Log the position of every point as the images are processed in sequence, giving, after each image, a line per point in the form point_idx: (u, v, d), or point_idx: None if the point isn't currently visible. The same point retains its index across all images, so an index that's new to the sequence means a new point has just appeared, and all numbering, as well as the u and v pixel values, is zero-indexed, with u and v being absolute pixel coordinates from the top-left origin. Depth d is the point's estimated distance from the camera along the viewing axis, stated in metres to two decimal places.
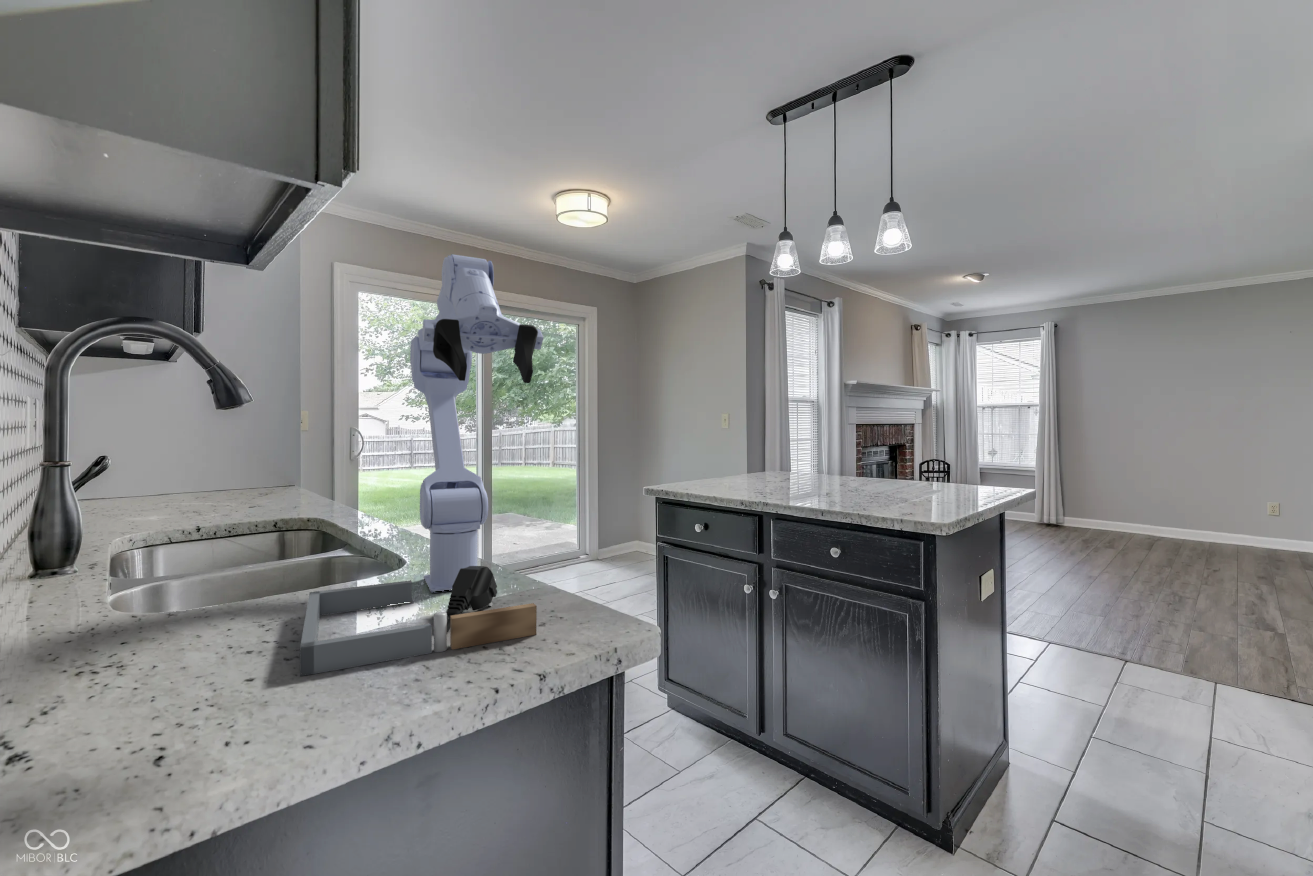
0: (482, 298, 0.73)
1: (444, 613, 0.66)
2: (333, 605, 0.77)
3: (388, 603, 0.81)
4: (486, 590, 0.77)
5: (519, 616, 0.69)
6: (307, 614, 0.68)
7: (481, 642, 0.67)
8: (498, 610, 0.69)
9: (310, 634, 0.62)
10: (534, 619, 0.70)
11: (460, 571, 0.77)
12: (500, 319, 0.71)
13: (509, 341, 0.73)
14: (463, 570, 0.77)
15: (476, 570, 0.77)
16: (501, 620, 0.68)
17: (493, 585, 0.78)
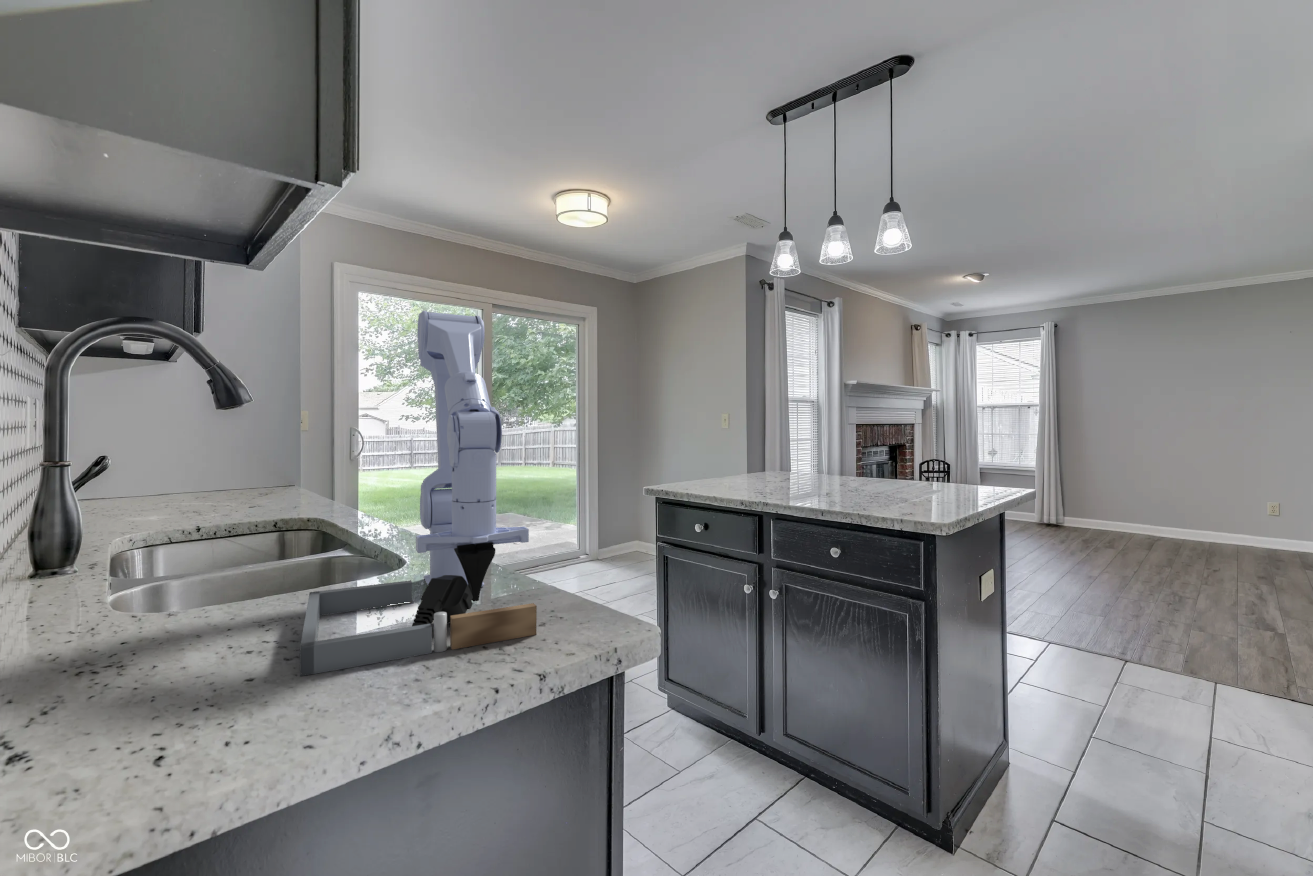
0: (478, 512, 0.74)
1: (444, 613, 0.66)
2: (333, 605, 0.77)
3: (388, 603, 0.81)
4: (458, 602, 0.72)
5: (519, 616, 0.69)
6: (307, 614, 0.68)
7: (481, 642, 0.67)
8: (498, 610, 0.69)
9: (310, 634, 0.62)
10: (534, 619, 0.70)
11: (431, 581, 0.72)
12: (490, 540, 0.76)
13: (496, 543, 0.79)
14: (434, 580, 0.72)
15: (448, 580, 0.71)
16: (501, 620, 0.68)
17: (467, 596, 0.73)
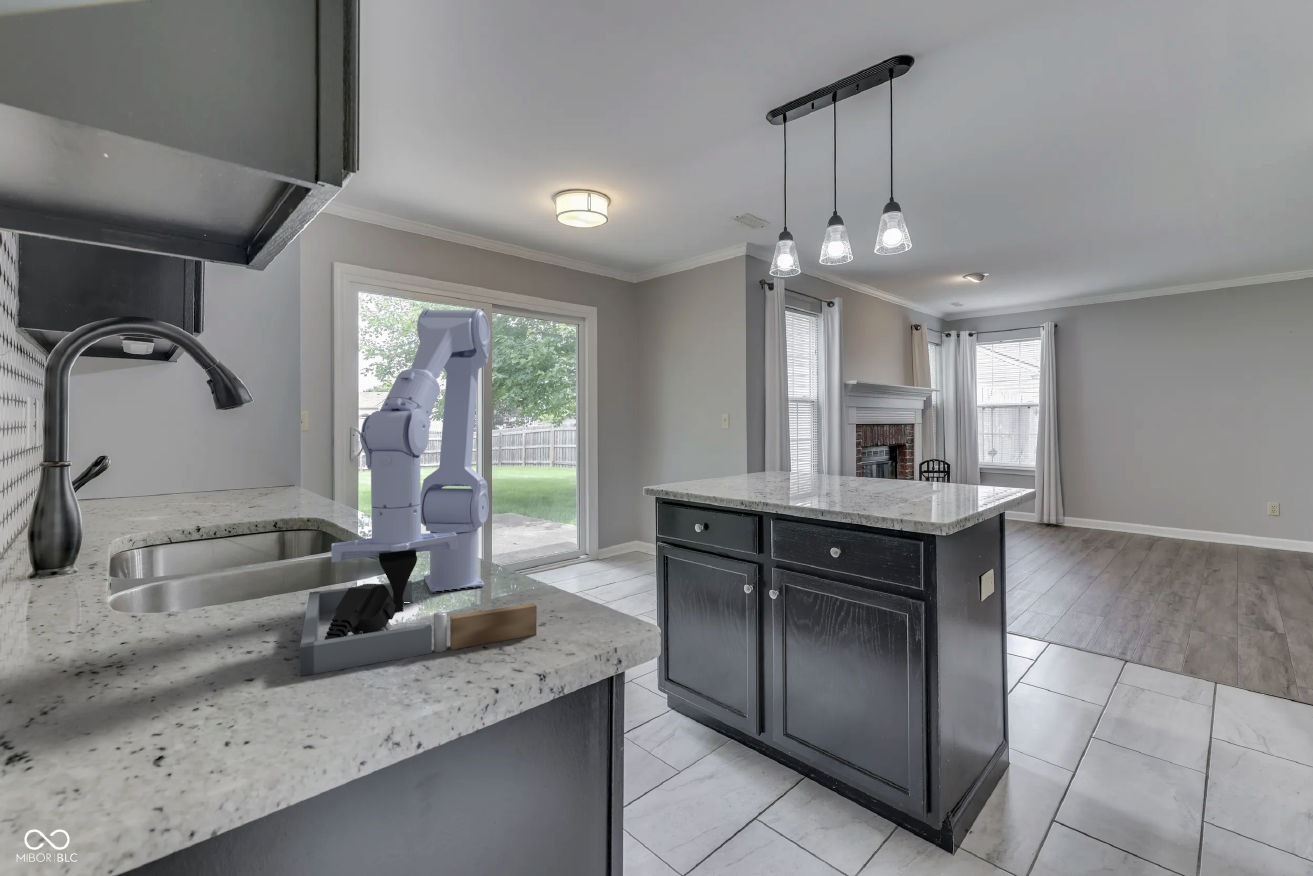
0: (397, 519, 0.70)
1: (444, 613, 0.66)
2: (333, 605, 0.77)
3: None
4: (378, 612, 0.67)
5: (519, 616, 0.69)
6: (307, 614, 0.68)
7: (481, 642, 0.67)
8: (498, 610, 0.69)
9: (310, 634, 0.62)
10: (534, 619, 0.70)
11: (348, 591, 0.67)
12: (412, 547, 0.71)
13: None
14: (352, 589, 0.67)
15: (366, 589, 0.67)
16: (501, 620, 0.68)
17: (388, 606, 0.69)
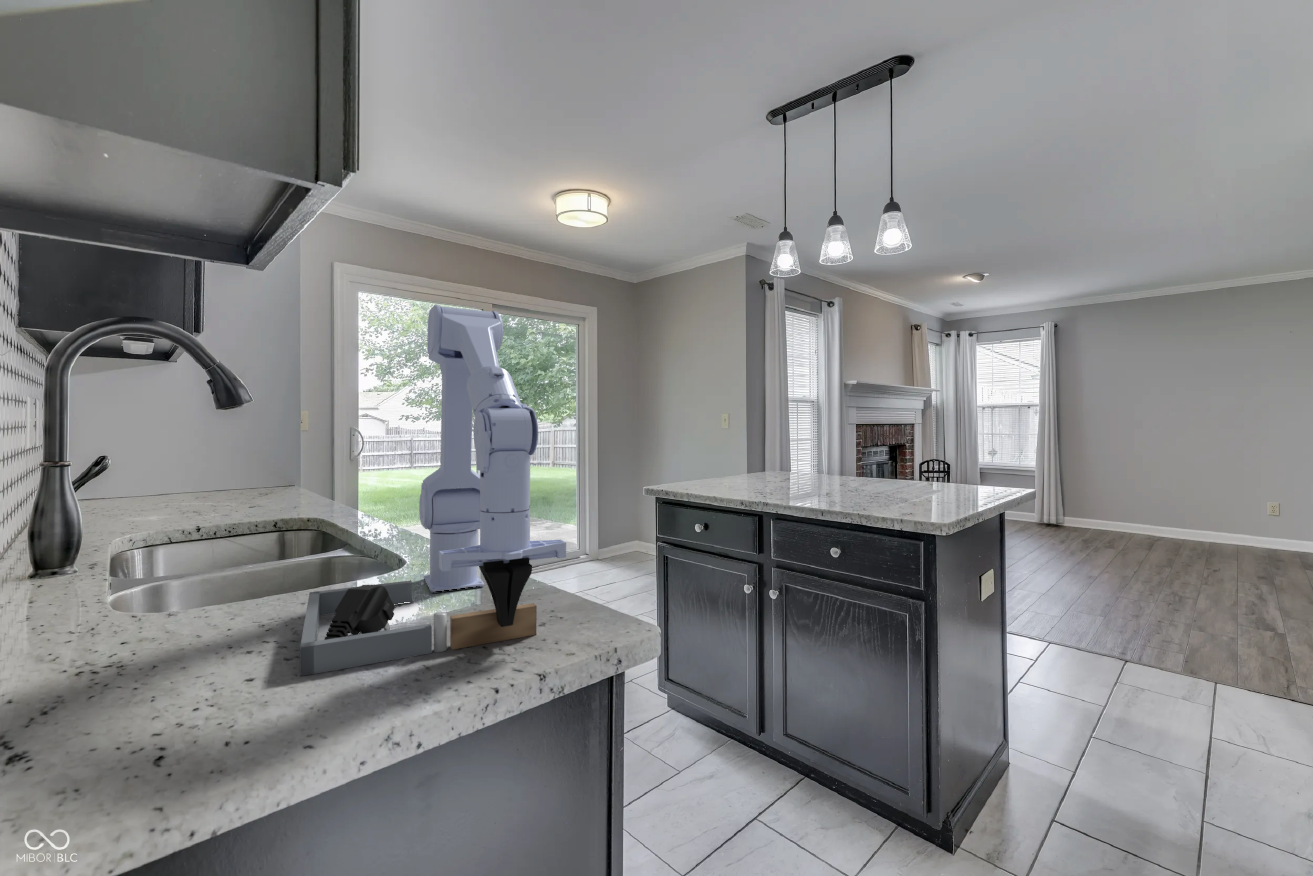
0: (510, 524, 0.64)
1: (444, 613, 0.66)
2: (333, 605, 0.77)
3: None
4: (378, 613, 0.67)
5: (519, 616, 0.69)
6: (307, 614, 0.68)
7: (481, 642, 0.67)
8: None
9: (310, 634, 0.62)
10: (534, 619, 0.70)
11: (347, 592, 0.67)
12: (524, 555, 0.66)
13: None
14: (351, 590, 0.67)
15: (366, 590, 0.67)
16: None
17: (388, 607, 0.69)
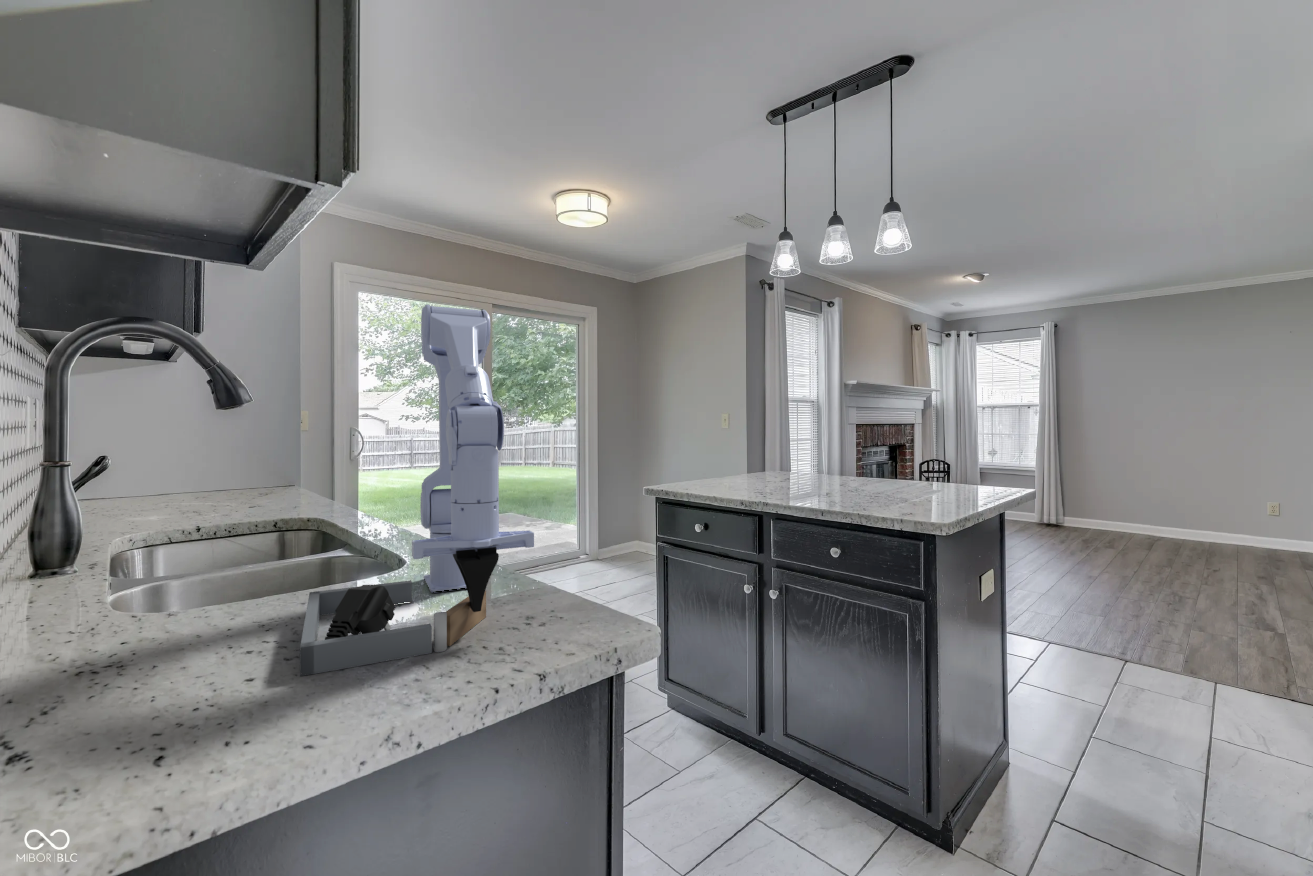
0: (479, 514, 0.69)
1: (444, 613, 0.66)
2: (333, 605, 0.77)
3: None
4: (378, 613, 0.67)
5: None
6: (307, 614, 0.68)
7: (463, 633, 0.70)
8: (467, 601, 0.72)
9: (310, 634, 0.62)
10: (485, 603, 0.76)
11: (348, 592, 0.67)
12: (492, 544, 0.70)
13: (499, 548, 0.73)
14: (351, 590, 0.67)
15: (366, 590, 0.67)
16: (471, 609, 0.72)
17: (388, 607, 0.69)
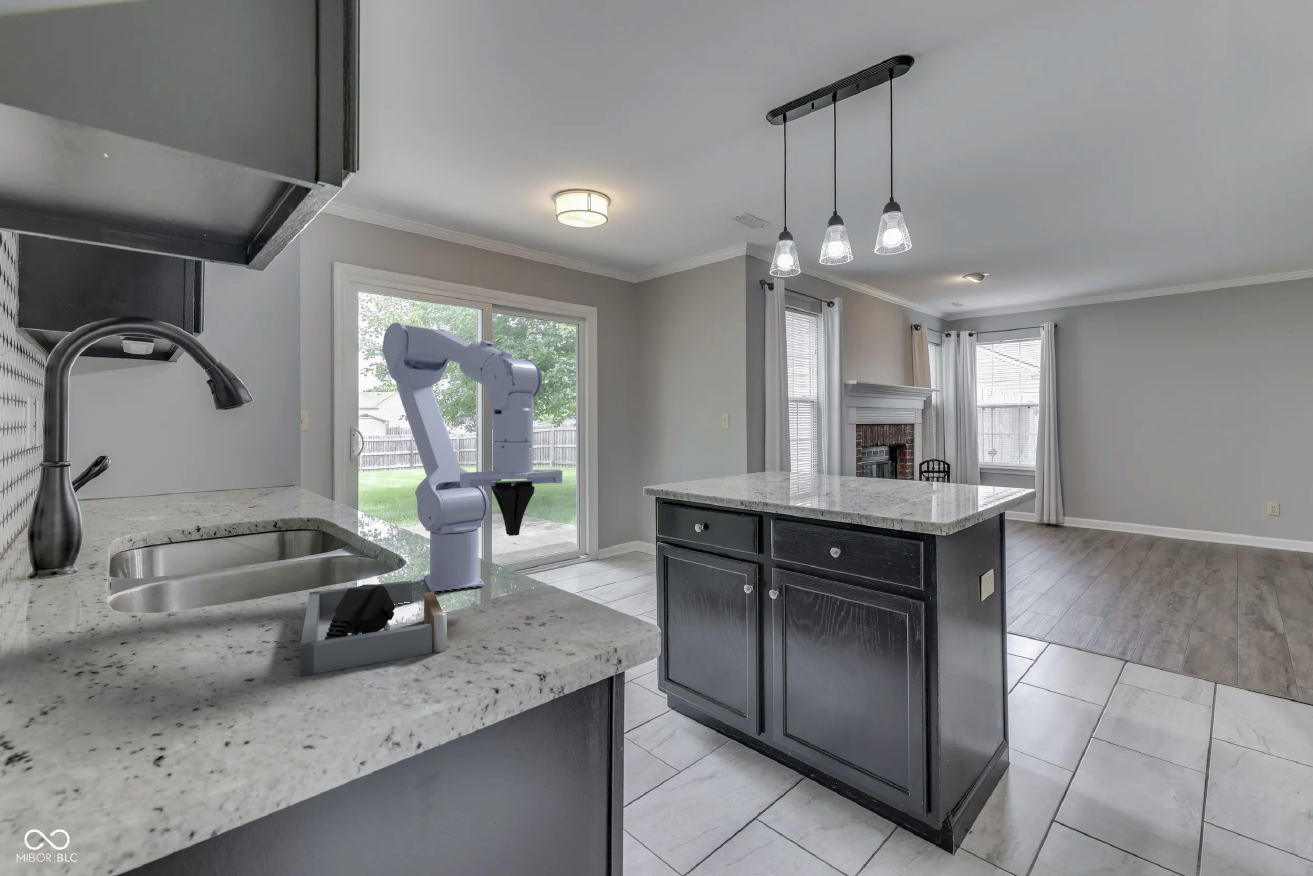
0: (517, 451, 0.80)
1: (444, 613, 0.66)
2: (333, 605, 0.77)
3: None
4: (378, 613, 0.67)
5: None
6: (307, 614, 0.68)
7: None
8: (434, 602, 0.71)
9: (310, 634, 0.62)
10: None
11: (347, 591, 0.67)
12: (528, 478, 0.81)
13: (532, 483, 0.84)
14: (351, 590, 0.67)
15: (366, 590, 0.67)
16: None
17: (388, 606, 0.69)
